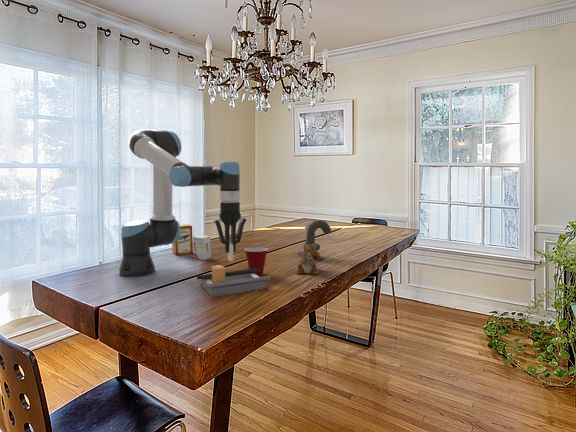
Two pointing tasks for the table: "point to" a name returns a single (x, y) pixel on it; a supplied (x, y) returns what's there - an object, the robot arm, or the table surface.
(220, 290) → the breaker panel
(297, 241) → the table surface
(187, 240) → the orange cardboard box
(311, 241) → the faucet
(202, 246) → the ink box
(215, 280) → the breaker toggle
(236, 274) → the grey tray
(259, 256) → the plastic cup
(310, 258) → the stuffed squirrel
